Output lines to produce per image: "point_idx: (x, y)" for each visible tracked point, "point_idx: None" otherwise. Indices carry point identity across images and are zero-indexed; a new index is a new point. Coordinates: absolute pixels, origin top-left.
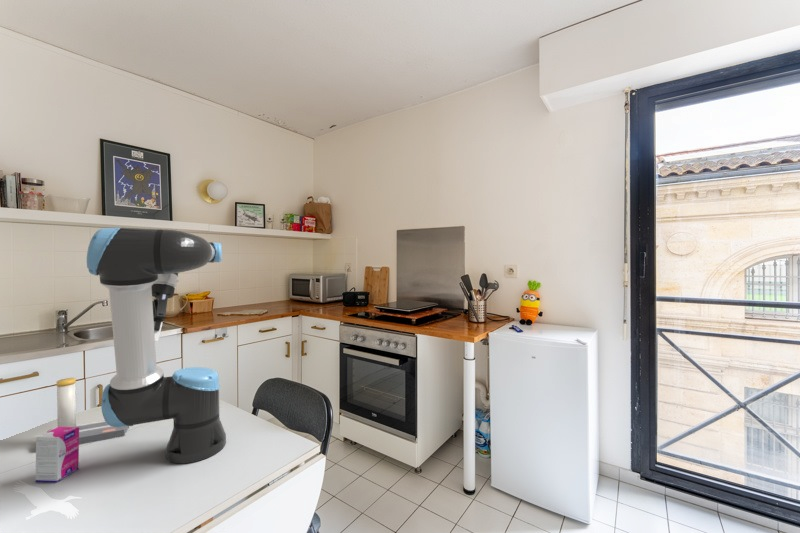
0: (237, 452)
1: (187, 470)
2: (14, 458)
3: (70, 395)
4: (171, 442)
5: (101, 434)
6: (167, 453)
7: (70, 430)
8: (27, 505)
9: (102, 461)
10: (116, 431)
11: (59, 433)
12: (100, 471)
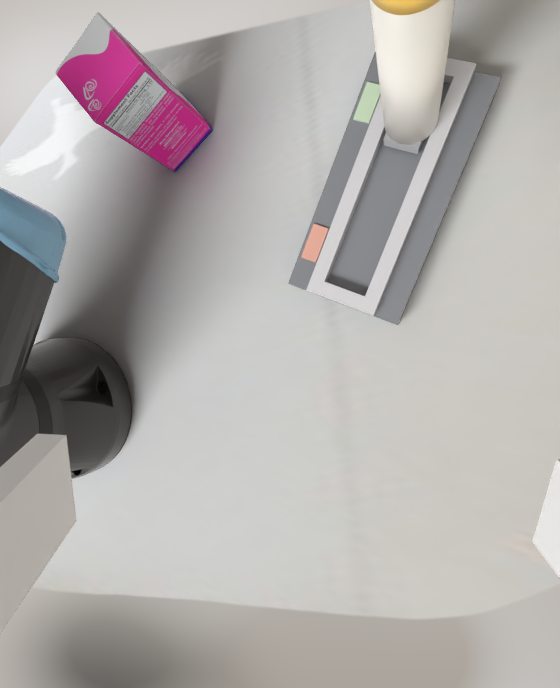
0: None
1: None
2: None
3: (376, 40)
4: (32, 347)
5: (311, 223)
6: (59, 338)
7: (83, 98)
8: None
9: (174, 220)
10: (296, 263)
11: (81, 71)
12: (128, 213)
